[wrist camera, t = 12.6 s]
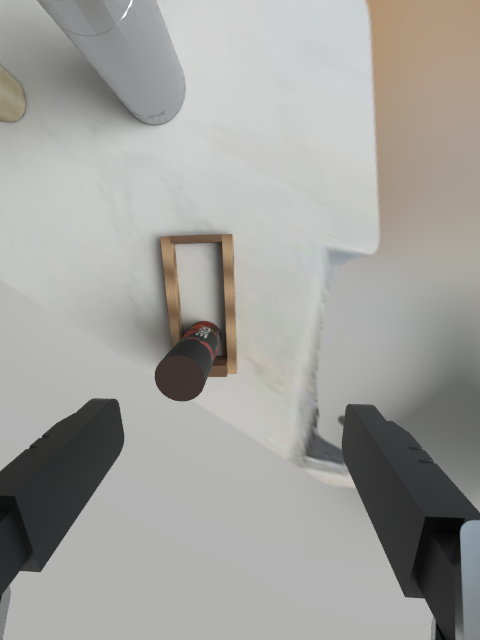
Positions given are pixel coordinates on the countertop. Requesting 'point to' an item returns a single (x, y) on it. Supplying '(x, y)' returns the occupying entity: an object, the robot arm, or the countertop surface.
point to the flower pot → (10, 97)
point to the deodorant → (189, 362)
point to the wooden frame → (228, 362)
